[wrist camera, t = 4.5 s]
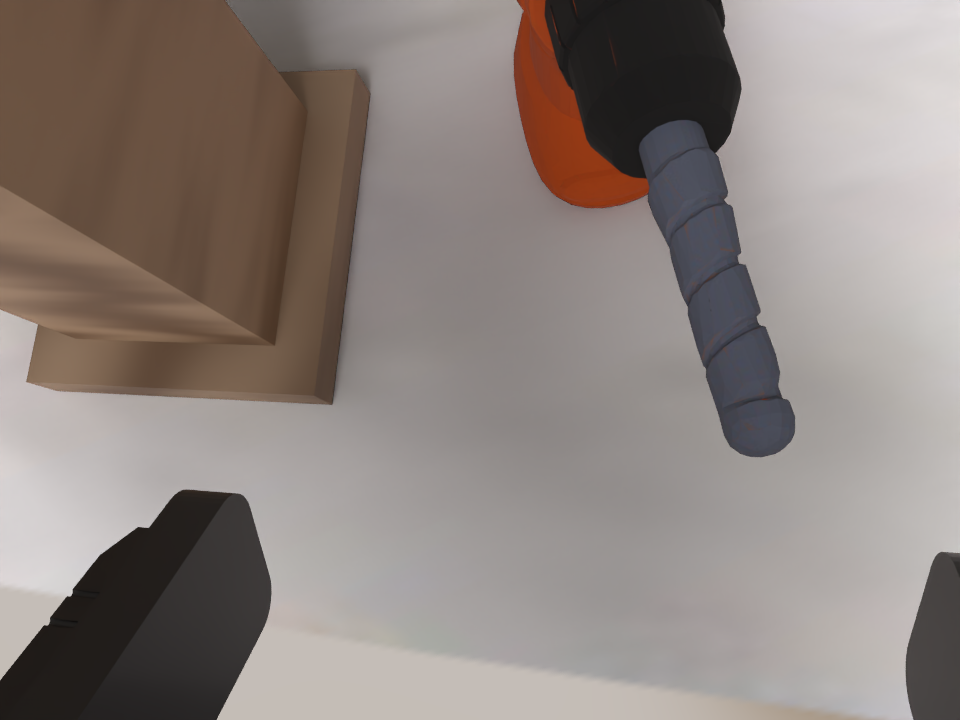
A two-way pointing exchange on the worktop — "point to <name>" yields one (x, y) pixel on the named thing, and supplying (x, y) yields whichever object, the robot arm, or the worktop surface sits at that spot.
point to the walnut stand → (173, 202)
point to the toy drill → (657, 167)
